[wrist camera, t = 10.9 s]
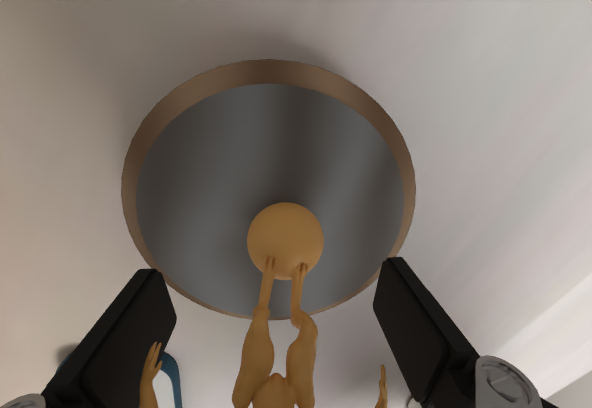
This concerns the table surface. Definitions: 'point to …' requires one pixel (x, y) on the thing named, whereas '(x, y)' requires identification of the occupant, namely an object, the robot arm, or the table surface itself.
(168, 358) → the external hard drive
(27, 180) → the table surface
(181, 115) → the walnut stand
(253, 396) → the figurine
